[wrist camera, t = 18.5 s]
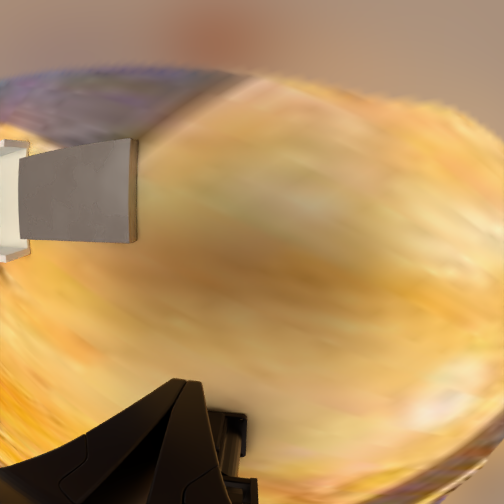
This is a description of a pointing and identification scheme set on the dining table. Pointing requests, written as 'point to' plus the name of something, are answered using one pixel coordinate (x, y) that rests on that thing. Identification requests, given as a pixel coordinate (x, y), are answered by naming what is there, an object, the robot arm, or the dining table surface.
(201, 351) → the dining table surface
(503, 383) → the dining table surface
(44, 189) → the panel
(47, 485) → the robot arm
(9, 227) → the well tray
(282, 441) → the dining table surface
